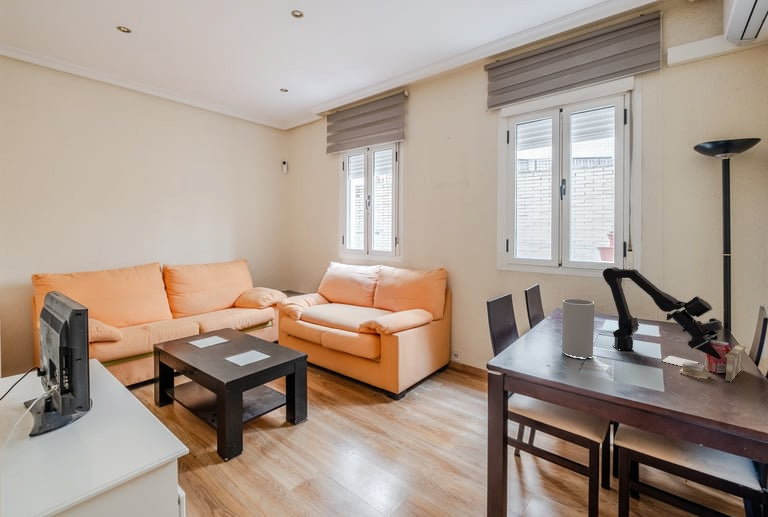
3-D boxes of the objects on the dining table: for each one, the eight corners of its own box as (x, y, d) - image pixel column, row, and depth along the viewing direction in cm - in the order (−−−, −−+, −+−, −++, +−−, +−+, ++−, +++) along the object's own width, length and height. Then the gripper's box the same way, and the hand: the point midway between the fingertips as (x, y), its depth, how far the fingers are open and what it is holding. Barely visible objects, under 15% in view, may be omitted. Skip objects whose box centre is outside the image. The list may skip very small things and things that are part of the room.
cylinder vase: (584, 350, 167) (586, 298, 165) (598, 360, 154) (599, 304, 152) (557, 350, 168) (558, 298, 166) (568, 360, 156) (569, 304, 153)
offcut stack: (679, 374, 139) (680, 363, 139) (682, 370, 142) (683, 360, 142) (706, 380, 133) (707, 369, 132) (709, 377, 136) (710, 365, 135)
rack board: (732, 383, 130) (734, 356, 129) (723, 380, 132) (725, 355, 131) (743, 370, 140) (745, 346, 139) (735, 368, 142) (737, 344, 141)
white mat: (661, 361, 151) (661, 360, 151) (669, 356, 157) (669, 355, 157) (691, 369, 143) (691, 368, 143) (698, 363, 149) (698, 362, 148)
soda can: (716, 367, 144) (718, 339, 143) (734, 374, 137) (736, 344, 136) (700, 368, 144) (701, 339, 142) (716, 375, 136) (718, 345, 135)
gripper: (700, 316, 136) (738, 351, 128) (713, 308, 147) (749, 341, 139) (673, 331, 143) (708, 366, 135) (688, 323, 154) (721, 354, 146)
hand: (722, 356), depth 138 cm, fingers closed on soda can, 7 cm apart
